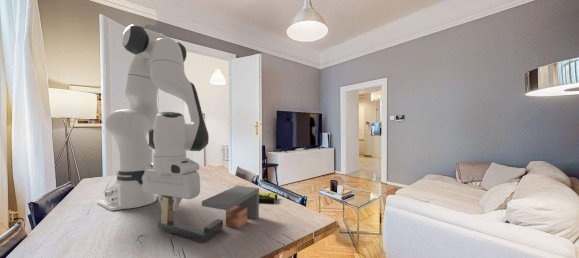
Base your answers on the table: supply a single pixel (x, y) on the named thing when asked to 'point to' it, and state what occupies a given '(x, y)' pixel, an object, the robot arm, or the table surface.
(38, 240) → the table surface
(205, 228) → the tan-tipped l-shaped bar
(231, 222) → the cube
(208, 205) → the grey l-shaped bookend
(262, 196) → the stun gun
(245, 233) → the table surface
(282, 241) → the table surface
